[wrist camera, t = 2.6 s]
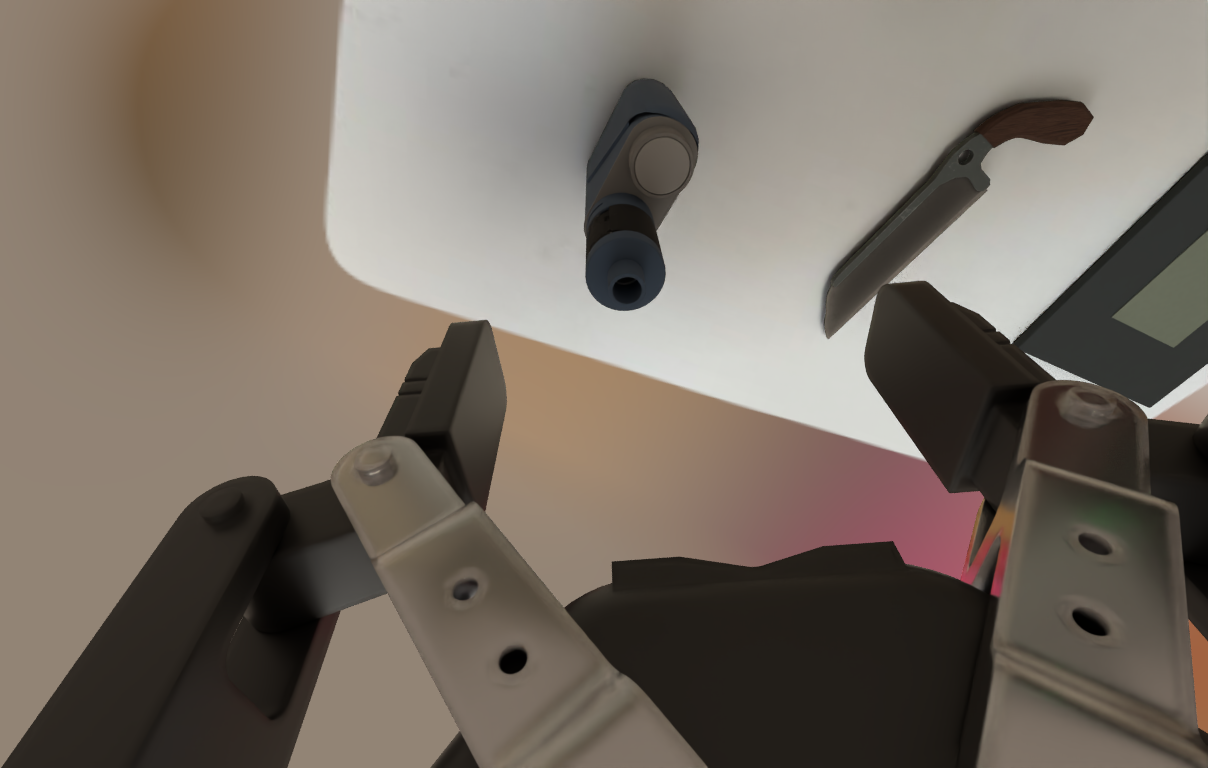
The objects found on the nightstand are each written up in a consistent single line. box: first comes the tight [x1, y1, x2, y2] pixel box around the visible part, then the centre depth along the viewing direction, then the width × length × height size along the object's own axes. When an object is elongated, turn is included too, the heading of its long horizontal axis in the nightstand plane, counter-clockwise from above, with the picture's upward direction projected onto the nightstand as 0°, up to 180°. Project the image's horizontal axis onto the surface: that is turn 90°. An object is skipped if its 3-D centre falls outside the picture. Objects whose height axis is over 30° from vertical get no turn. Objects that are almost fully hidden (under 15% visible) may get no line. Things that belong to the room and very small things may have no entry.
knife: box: [824, 100, 1094, 339], centre depth 26 cm, size 14×4×1 cm, turn 146°
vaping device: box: [584, 79, 699, 311], centre depth 19 cm, size 3×5×12 cm, turn 151°
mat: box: [1013, 154, 1208, 408], centre depth 28 cm, size 14×11×1 cm
